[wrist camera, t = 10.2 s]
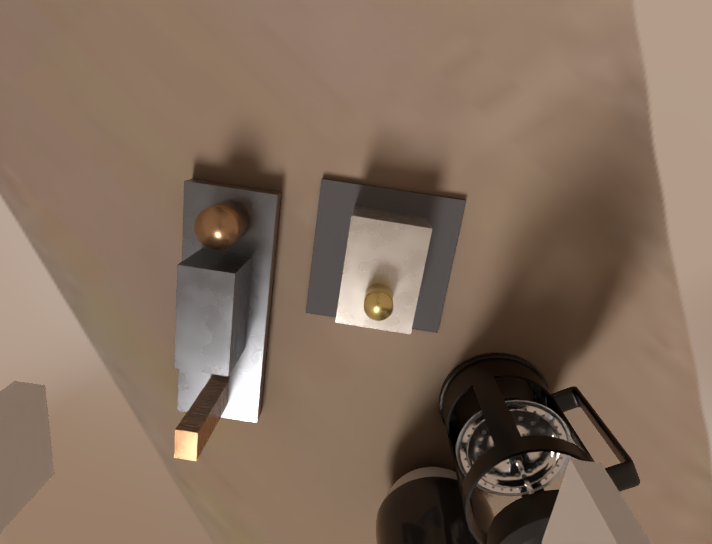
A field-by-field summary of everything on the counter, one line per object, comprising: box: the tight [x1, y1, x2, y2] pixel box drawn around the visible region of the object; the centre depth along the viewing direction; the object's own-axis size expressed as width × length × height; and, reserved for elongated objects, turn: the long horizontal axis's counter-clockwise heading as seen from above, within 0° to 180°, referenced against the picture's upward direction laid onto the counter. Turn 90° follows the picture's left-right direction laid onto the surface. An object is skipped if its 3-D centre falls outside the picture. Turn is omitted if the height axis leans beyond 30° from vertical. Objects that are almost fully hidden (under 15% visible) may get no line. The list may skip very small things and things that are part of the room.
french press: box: [439, 353, 640, 544], centre depth 29 cm, size 12×9×23 cm
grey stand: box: [174, 179, 282, 461], centre depth 35 cm, size 20×7×8 cm, turn 172°
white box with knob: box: [335, 206, 432, 334], centre depth 34 cm, size 8×6×6 cm
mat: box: [306, 179, 466, 333], centre depth 37 cm, size 11×11×1 cm
